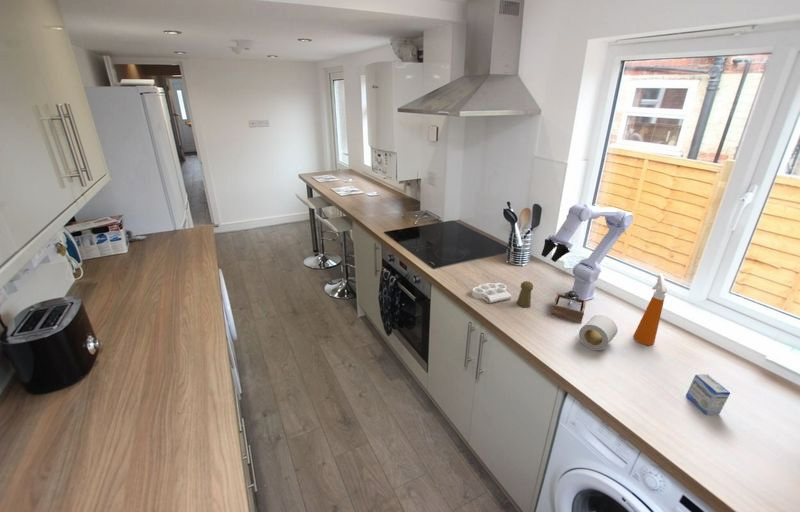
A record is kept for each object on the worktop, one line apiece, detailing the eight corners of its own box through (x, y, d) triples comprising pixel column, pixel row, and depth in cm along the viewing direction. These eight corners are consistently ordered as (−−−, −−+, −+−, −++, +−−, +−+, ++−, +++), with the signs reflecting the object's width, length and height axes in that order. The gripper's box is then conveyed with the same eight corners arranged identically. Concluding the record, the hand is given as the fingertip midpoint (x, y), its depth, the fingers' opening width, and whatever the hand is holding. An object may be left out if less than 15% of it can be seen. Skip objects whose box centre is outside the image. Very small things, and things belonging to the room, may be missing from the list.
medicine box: (685, 395, 116) (694, 373, 112) (698, 395, 116) (708, 373, 112) (706, 415, 108) (717, 392, 105) (720, 414, 109) (731, 392, 105)
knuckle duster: (484, 306, 163) (466, 291, 175) (516, 299, 169) (496, 285, 182) (484, 299, 161) (466, 285, 174) (517, 293, 168) (497, 279, 180)
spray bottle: (648, 331, 148) (669, 273, 137) (656, 347, 138) (679, 285, 128) (629, 327, 150) (648, 269, 139) (635, 342, 140) (656, 282, 130)
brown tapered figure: (531, 308, 161) (535, 286, 157) (517, 306, 162) (521, 285, 158) (529, 301, 167) (533, 280, 163) (515, 300, 168) (519, 278, 164)
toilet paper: (586, 332, 146) (592, 310, 142) (613, 343, 140) (620, 321, 136) (576, 342, 140) (582, 320, 136) (604, 355, 133) (611, 332, 129)
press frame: (554, 302, 167) (557, 293, 165) (583, 310, 161) (586, 300, 160) (550, 314, 157) (553, 304, 155) (581, 323, 152) (583, 313, 150)
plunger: (559, 298, 164) (562, 285, 161) (581, 304, 160) (584, 290, 157) (556, 307, 156) (559, 294, 154) (579, 313, 152) (583, 299, 150)
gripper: (550, 223, 158) (532, 249, 160) (570, 229, 145) (550, 258, 146) (561, 231, 160) (544, 257, 162) (583, 238, 146) (563, 266, 148)
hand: (548, 258), depth 154 cm, fingers open, 7 cm apart
